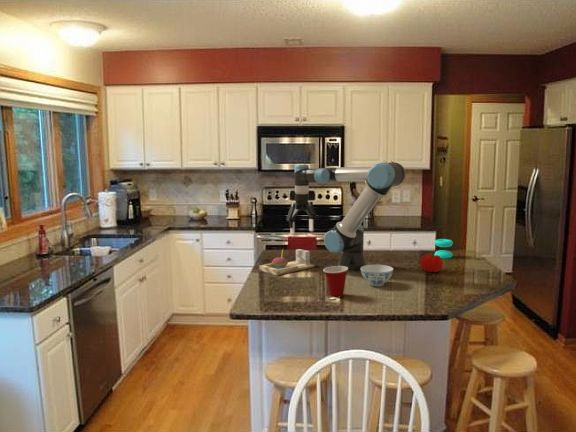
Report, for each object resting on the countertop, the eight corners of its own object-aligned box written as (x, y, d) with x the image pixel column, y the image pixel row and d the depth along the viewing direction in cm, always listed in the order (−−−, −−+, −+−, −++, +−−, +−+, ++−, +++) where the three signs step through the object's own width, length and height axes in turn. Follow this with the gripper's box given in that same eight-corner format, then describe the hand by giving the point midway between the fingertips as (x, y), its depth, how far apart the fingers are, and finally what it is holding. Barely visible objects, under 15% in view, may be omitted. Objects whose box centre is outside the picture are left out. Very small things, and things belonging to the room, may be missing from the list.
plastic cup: (321, 292, 220) (321, 265, 218) (345, 291, 221) (345, 264, 219) (325, 299, 209) (325, 271, 208) (350, 298, 210) (350, 270, 208)
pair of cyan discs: (431, 239, 286) (442, 238, 291) (430, 256, 287) (442, 254, 293) (445, 242, 278) (456, 240, 283) (444, 259, 279) (456, 257, 285)
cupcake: (290, 269, 262) (290, 247, 261) (283, 273, 255) (283, 250, 253) (276, 268, 266) (275, 246, 264) (269, 271, 258) (268, 249, 257)
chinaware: (386, 290, 220) (386, 273, 219) (355, 286, 228) (355, 269, 227) (397, 282, 233) (398, 266, 232) (368, 278, 241) (368, 263, 240)
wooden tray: (314, 266, 266) (314, 251, 265) (276, 275, 249) (276, 259, 248) (296, 262, 277) (296, 248, 276) (259, 270, 261) (258, 254, 260)
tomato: (443, 274, 247) (444, 257, 246) (420, 273, 249) (421, 256, 248) (441, 269, 257) (441, 253, 256) (419, 268, 259) (419, 252, 258)
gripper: (314, 191, 276) (314, 229, 279) (279, 194, 260) (279, 234, 263) (323, 192, 270) (323, 230, 273) (288, 195, 254) (288, 236, 257)
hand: (302, 232), depth 268 cm, fingers open, 13 cm apart
